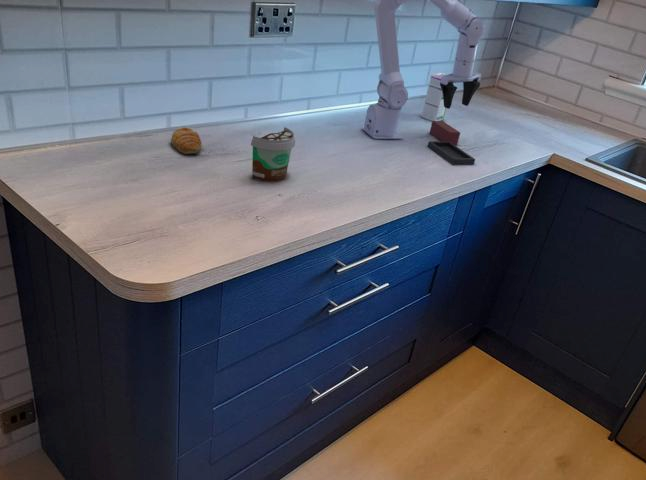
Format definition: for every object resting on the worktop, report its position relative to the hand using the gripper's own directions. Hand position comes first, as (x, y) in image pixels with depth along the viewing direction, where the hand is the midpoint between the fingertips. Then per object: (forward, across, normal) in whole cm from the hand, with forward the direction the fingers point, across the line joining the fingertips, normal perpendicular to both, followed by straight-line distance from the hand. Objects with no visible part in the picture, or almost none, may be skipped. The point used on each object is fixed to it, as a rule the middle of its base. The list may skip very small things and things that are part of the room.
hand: (456, 106), depth 181 cm
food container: (+5, -71, -15) cm, 72 cm away
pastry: (+3, -84, +5) cm, 84 cm away
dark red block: (+10, -3, 0) cm, 10 cm away
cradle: (+10, -11, -12) cm, 18 cm away
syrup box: (+11, +8, +18) cm, 22 cm away
